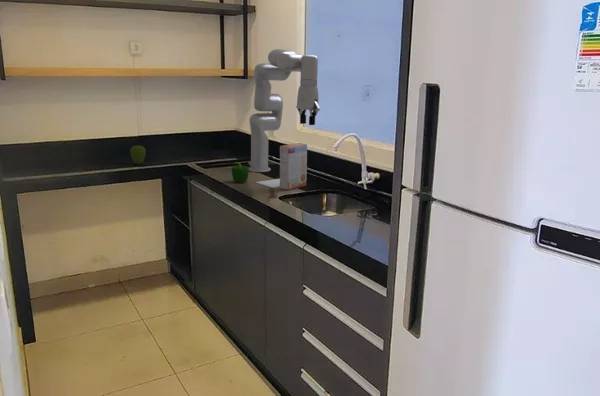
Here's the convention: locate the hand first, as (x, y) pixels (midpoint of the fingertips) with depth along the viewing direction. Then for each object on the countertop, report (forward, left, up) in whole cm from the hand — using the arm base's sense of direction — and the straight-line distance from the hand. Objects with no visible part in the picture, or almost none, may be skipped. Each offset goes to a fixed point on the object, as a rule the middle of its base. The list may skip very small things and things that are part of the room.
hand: (307, 123), depth 233 cm
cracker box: (-9, 0, -32) cm, 33 cm away
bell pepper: (-33, -14, -32) cm, 48 cm away
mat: (-20, 0, -31) cm, 37 cm away
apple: (-103, -36, -32) cm, 114 cm away
